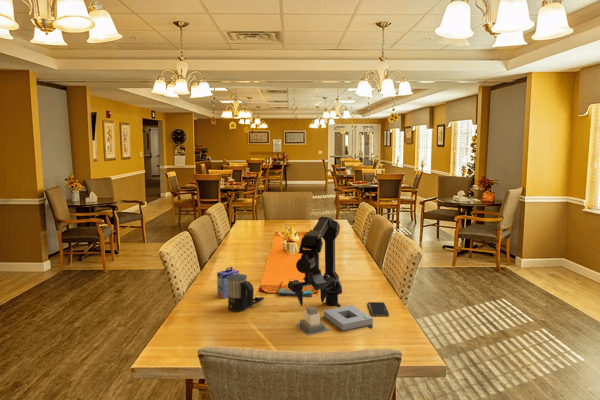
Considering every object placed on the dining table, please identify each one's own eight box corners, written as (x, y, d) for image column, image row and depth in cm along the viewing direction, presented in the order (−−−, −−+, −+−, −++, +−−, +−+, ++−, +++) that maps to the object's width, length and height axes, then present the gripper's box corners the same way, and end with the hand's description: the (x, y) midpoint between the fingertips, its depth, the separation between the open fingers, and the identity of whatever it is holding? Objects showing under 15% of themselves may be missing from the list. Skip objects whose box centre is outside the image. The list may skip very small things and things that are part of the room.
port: (323, 319, 192) (323, 309, 192) (351, 313, 198) (352, 304, 197) (342, 334, 178) (342, 323, 177) (372, 327, 184) (372, 317, 183)
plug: (304, 325, 184) (304, 306, 183) (313, 323, 185) (313, 304, 184) (310, 330, 178) (310, 311, 177) (319, 329, 180) (319, 309, 179)
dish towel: (276, 297, 221) (276, 292, 220) (282, 282, 244) (282, 277, 243) (312, 298, 219) (312, 293, 219) (314, 283, 243) (314, 278, 242)
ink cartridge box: (223, 299, 217) (223, 270, 215) (216, 296, 221) (215, 267, 219) (239, 294, 224) (239, 265, 222) (232, 291, 228) (232, 263, 226)
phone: (371, 314, 195) (367, 302, 210) (371, 317, 195) (367, 304, 210) (389, 314, 195) (384, 302, 210) (389, 317, 195) (384, 304, 210)
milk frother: (223, 310, 203) (222, 278, 201) (240, 298, 218) (239, 269, 216) (252, 314, 198) (251, 281, 196) (267, 302, 213) (266, 271, 211)
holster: (294, 326, 185) (294, 319, 185) (316, 321, 190) (316, 315, 189) (307, 337, 175) (307, 330, 174) (330, 332, 179) (330, 325, 178)
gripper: (299, 274, 167) (299, 315, 170) (342, 268, 175) (342, 307, 177) (287, 267, 177) (287, 305, 180) (328, 261, 185) (328, 298, 187)
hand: (312, 304), depth 181 cm, fingers open, 9 cm apart
